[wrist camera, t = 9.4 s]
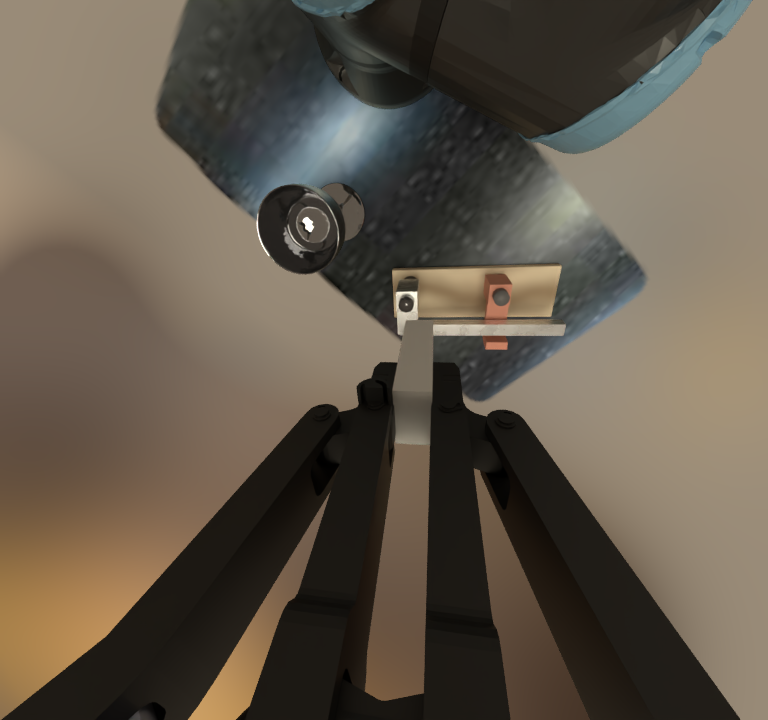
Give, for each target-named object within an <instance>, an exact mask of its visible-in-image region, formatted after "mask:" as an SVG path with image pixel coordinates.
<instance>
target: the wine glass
mask: <svg viewBox="0 0 768 720" xmlns="http://www.w3.org/2000/svg"><path fill="white" fill-rule="evenodd" d="M364 218H365V211H364V206H363V203H362V201H361V199H360V197H359V196H358V194H357V193H356V192H355V191H354V190H353V189H352V188H350V187H349V186H347V185H345V184H341V183H332V184H328V185H326V186H324V187H323V188H322V189H319V188H317V187H314V186H311V185H307V184H289V185H284V186H280V187H278V188H276V189H274V190H272V191H271V192H270V193H268V194H267V196H266V197H265V198H264V199H263V201H262V203H261V205H260V207H259V210H258V215H257V230H258V235H259V238H260V241H261V244H262V246H263V248H264V250H265V251H266V252H267V254H268V255H269V257H270V258H271V259H272V260H273V261H274V262H275V263H276V264H278V265H279V266H280V267H282V268H284V269H285V270H287V271H290V272H293V273H296V274H312V273H315V272H318V271H320V270H322V269H323V268H325V267H326V266H327V265H328V264H330V263H331V262H332V261H333V260H334V259H335V257H336V256H337V255H338V253H339V252H340V250H341V248H342V246H343V243H344V241H347V240H350V239H352V238H353V237H355V236H356V235H357V234H358V233H359V232H360V230H361V228H362V226H363V223H364Z"/></svg>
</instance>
